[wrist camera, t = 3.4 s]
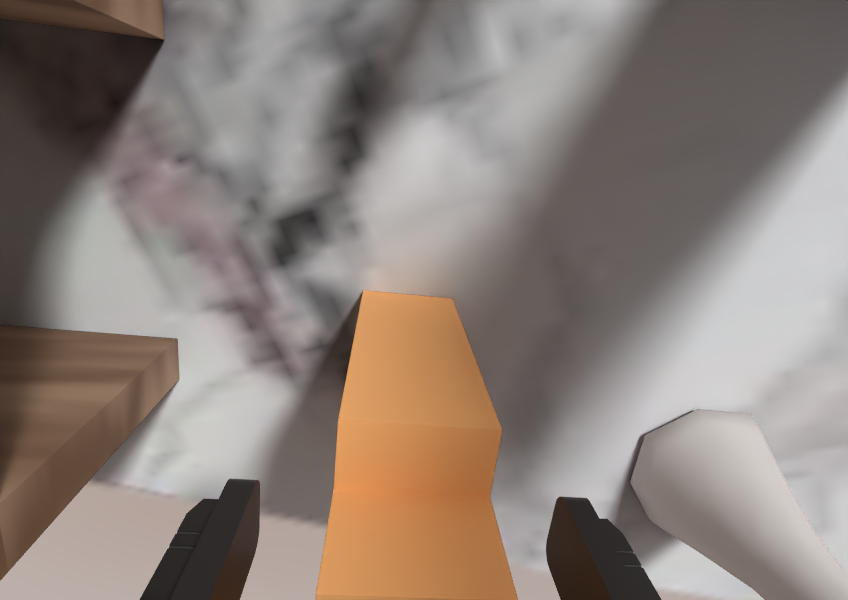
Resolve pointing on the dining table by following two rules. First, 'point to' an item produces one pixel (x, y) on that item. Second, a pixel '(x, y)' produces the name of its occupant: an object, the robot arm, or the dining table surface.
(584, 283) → the dining table surface
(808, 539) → the flask
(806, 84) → the dining table surface
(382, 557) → the stepped orange block
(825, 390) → the dining table surface
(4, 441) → the brown square frame
